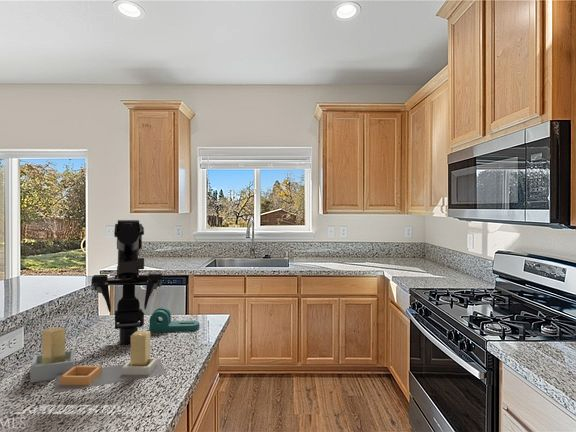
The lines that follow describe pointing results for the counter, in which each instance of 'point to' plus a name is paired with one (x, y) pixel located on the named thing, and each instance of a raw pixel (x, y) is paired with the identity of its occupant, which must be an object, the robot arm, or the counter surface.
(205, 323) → the counter surface
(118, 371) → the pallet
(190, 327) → the bracket
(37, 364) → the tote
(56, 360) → the block
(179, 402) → the counter surface
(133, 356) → the block
